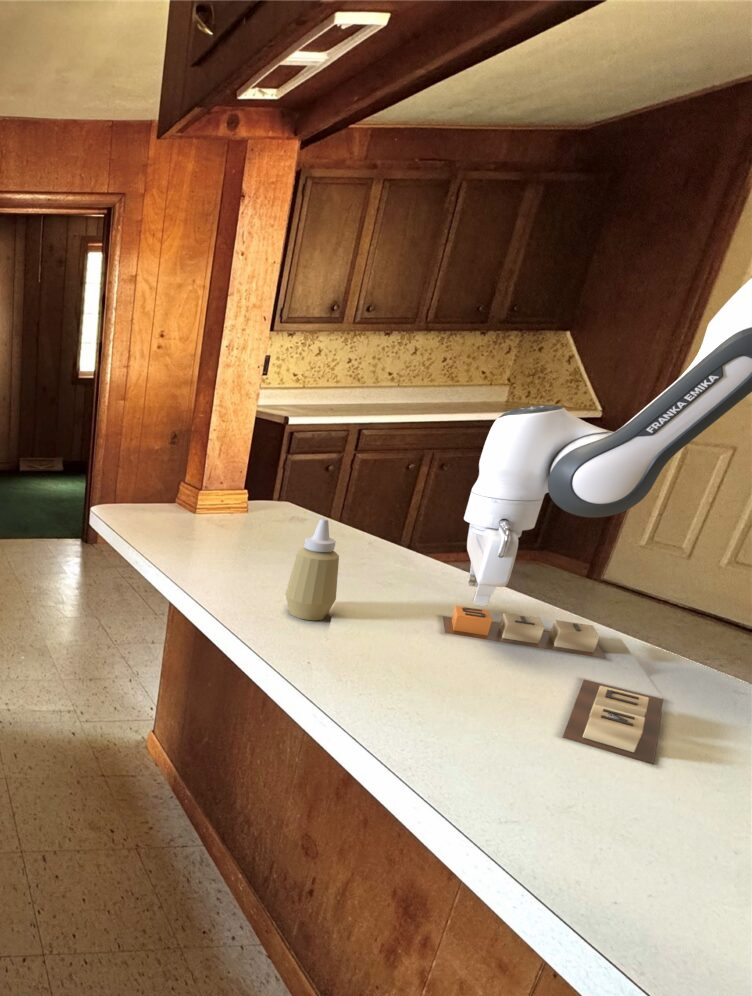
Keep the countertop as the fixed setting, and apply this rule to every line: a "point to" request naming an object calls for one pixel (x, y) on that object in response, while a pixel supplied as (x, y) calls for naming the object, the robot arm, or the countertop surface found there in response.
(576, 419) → the robot arm
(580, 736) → the front rack
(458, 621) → the s tile
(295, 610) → the squeeze bottle
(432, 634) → the countertop surface
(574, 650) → the back rack
